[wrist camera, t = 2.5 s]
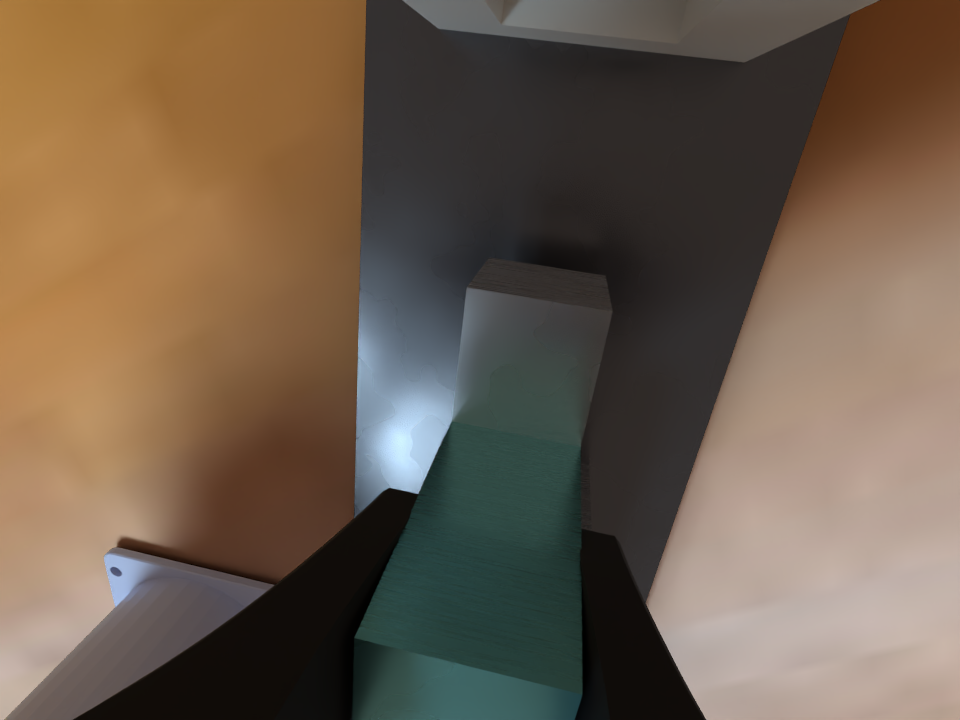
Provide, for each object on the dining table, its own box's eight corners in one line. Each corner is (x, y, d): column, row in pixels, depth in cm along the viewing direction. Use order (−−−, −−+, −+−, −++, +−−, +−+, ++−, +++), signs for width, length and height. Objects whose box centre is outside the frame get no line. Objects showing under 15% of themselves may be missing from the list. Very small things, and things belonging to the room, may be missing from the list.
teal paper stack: (507, 716, 18) (461, 1085, 11) (433, 697, 18) (343, 1044, 11) (605, 275, 11) (646, 486, 4) (489, 257, 12) (360, 428, 5)
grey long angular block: (605, 688, 20) (615, 900, 15) (360, 628, 21) (282, 803, 16) (891, -166, 10) (1303, -566, 4) (389, -197, 11) (190, -547, 5)
